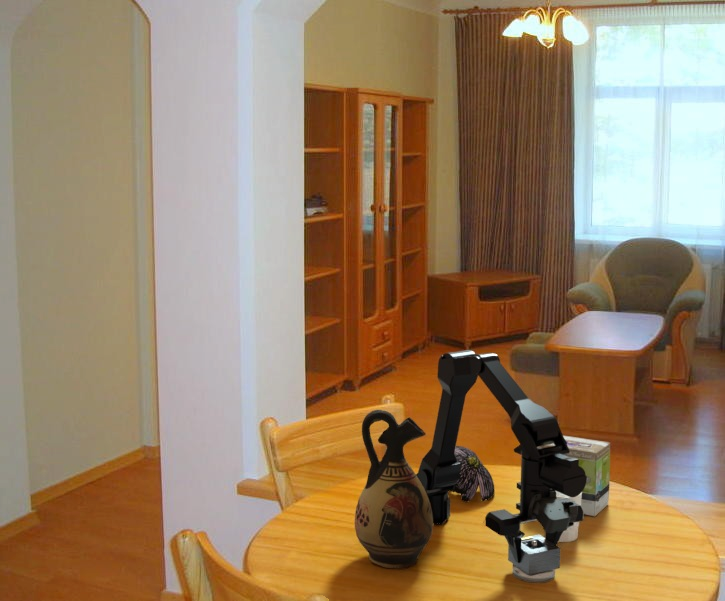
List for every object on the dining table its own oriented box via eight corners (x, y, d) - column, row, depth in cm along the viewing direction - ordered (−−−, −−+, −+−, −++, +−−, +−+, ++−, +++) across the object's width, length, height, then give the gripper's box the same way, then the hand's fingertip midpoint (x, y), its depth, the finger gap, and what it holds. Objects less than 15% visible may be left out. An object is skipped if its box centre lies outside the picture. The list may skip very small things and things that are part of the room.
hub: (508, 579, 184) (509, 546, 183) (517, 562, 191) (517, 530, 190) (551, 585, 181) (552, 552, 180) (558, 568, 189) (559, 536, 188)
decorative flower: (460, 469, 217) (435, 432, 229) (440, 512, 220) (416, 473, 233) (514, 478, 223) (486, 441, 235) (493, 519, 226) (467, 481, 239)
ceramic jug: (430, 543, 201) (432, 401, 196) (434, 576, 185) (436, 423, 181) (348, 542, 201) (347, 401, 196) (344, 575, 186) (344, 422, 181)
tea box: (609, 504, 222) (612, 441, 220) (594, 518, 214) (597, 453, 212) (547, 491, 230) (549, 431, 228) (530, 505, 222) (532, 442, 220)
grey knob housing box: (528, 574, 182) (529, 553, 181) (508, 560, 188) (508, 539, 187) (559, 568, 184) (560, 547, 184) (538, 553, 191) (539, 533, 190)
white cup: (580, 545, 200) (582, 498, 198) (541, 542, 201) (542, 495, 200) (580, 530, 207) (581, 485, 206) (542, 527, 209) (543, 482, 207)
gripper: (517, 502, 172) (515, 585, 175) (603, 487, 180) (600, 567, 183) (484, 482, 182) (483, 561, 185) (567, 468, 190) (564, 544, 193)
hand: (533, 559), depth 186 cm, fingers closed on grey knob housing box, 7 cm apart
